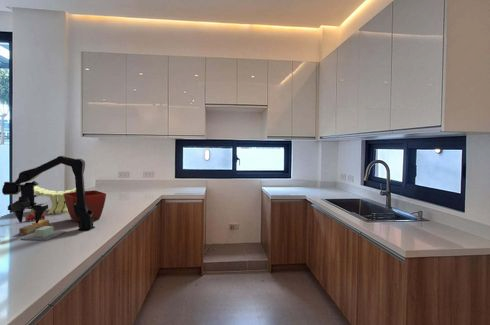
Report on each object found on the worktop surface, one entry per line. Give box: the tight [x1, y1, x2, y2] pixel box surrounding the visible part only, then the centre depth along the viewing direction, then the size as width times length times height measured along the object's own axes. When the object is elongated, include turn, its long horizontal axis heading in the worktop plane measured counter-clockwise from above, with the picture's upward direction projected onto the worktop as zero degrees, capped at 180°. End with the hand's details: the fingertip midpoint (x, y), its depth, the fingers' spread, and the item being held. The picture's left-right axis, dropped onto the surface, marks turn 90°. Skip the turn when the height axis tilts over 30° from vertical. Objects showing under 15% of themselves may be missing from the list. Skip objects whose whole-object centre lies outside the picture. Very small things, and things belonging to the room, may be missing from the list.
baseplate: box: [20, 225, 67, 242], centre depth 155 cm, size 14×14×4 cm
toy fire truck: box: [23, 209, 46, 222], centre depth 184 cm, size 3×14×10 cm, turn 141°
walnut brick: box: [18, 224, 38, 236], centre depth 159 cm, size 4×7×4 cm, turn 175°
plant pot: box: [64, 189, 107, 224], centre depth 188 cm, size 19×19×17 cm
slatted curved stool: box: [34, 185, 76, 215], centre depth 212 cm, size 30×16×18 cm, turn 113°
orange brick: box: [31, 219, 50, 228], centre depth 170 cm, size 4×7×4 cm, turn 175°
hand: (28, 222), depth 159 cm, fingers open, 9 cm apart
